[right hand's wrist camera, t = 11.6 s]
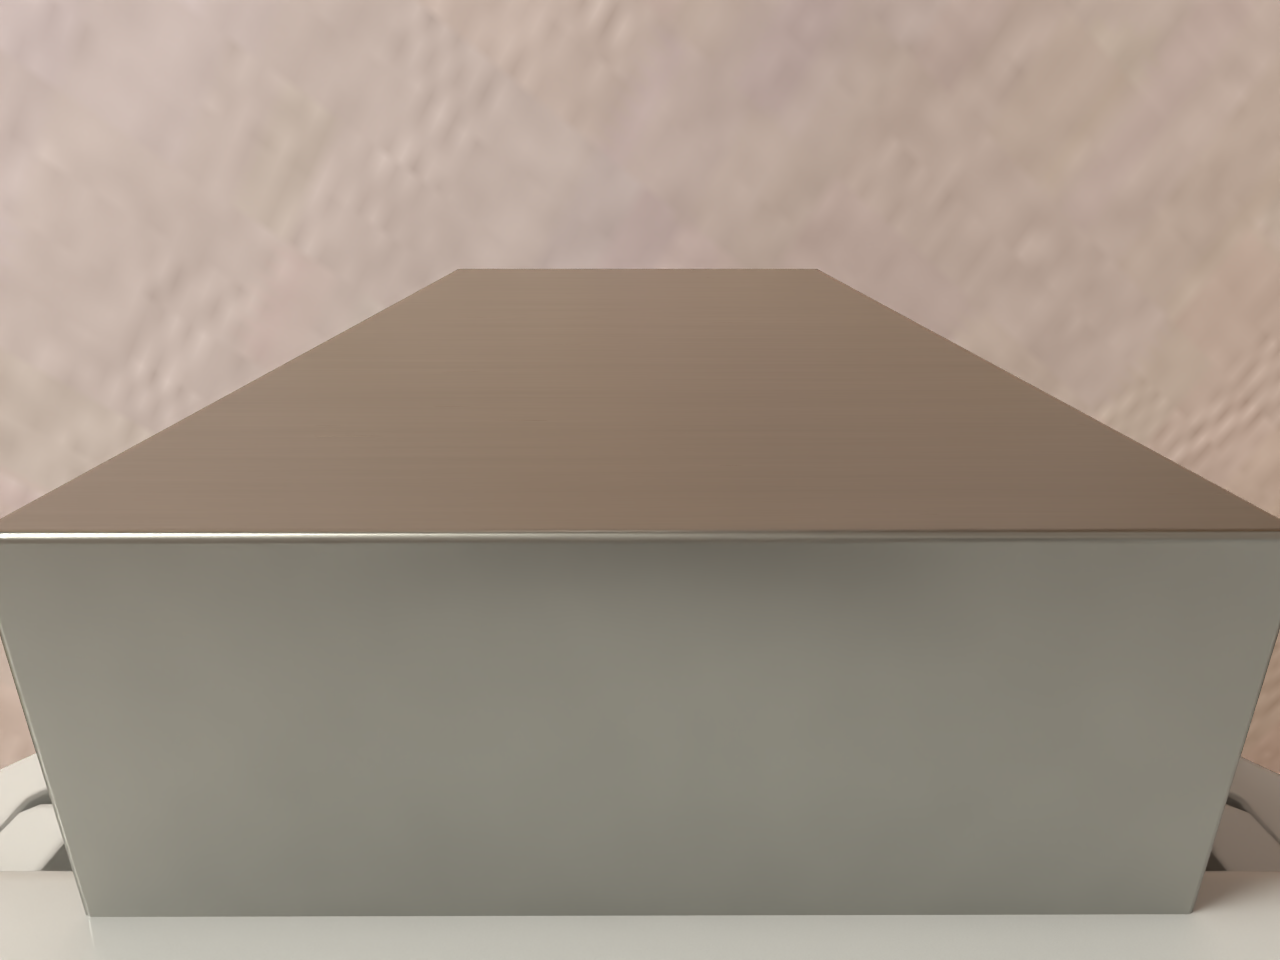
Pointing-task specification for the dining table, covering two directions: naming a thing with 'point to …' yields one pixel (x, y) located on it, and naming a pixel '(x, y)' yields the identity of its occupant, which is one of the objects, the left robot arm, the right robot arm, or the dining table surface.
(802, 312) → the box
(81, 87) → the dining table surface
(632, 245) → the dining table surface
